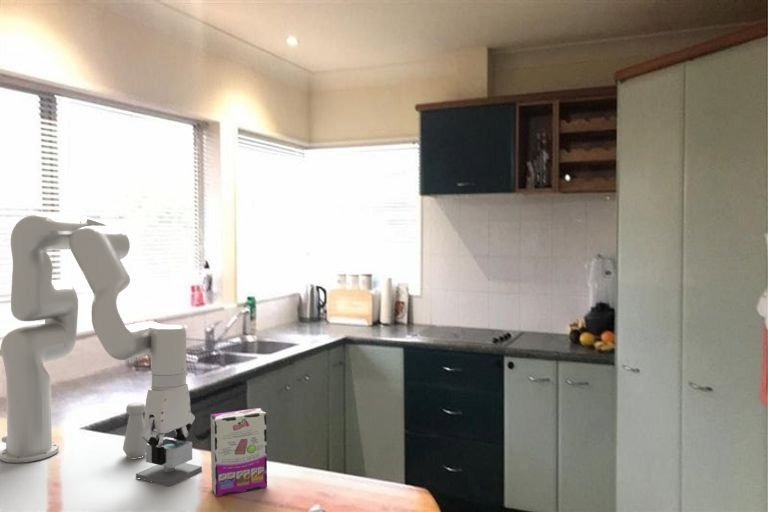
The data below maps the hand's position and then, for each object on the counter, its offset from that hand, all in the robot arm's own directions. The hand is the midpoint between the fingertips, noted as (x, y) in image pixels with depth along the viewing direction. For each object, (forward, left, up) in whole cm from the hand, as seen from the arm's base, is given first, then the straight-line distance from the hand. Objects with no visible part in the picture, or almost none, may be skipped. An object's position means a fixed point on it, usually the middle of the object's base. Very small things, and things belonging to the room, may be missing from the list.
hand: (169, 458), depth 141 cm
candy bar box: (+19, +1, -4) cm, 20 cm away
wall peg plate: (0, 0, -4) cm, 4 cm away
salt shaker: (-16, +5, -4) cm, 17 cm away
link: (0, 0, -1) cm, 1 cm away
